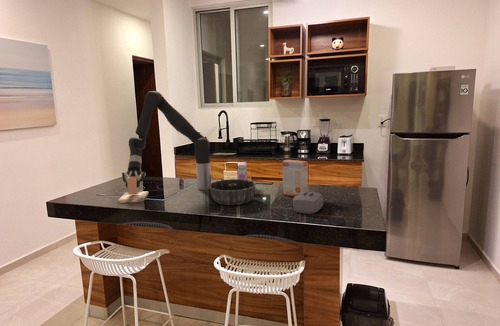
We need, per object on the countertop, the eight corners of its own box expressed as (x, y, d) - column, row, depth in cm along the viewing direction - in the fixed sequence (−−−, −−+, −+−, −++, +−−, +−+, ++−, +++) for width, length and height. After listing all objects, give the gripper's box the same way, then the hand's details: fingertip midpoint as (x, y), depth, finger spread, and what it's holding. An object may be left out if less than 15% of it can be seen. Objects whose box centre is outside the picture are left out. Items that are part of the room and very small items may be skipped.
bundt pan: (246, 210, 163) (246, 191, 161) (201, 206, 172) (200, 188, 170) (262, 196, 187) (262, 180, 186) (221, 193, 196) (221, 178, 195)
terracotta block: (138, 192, 194) (137, 176, 192) (137, 194, 189) (135, 177, 187) (130, 192, 193) (128, 176, 191) (128, 194, 188) (126, 178, 186)
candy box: (246, 190, 202) (246, 165, 199) (237, 190, 202) (236, 165, 200) (247, 185, 216) (246, 161, 213) (238, 185, 216) (238, 161, 213)
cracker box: (308, 196, 185) (308, 161, 181) (302, 198, 181) (302, 162, 177) (288, 192, 194) (288, 159, 191) (282, 194, 190) (282, 160, 187)
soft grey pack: (318, 215, 152) (327, 204, 170) (318, 199, 151) (328, 189, 169) (288, 212, 159) (300, 201, 177) (288, 195, 158) (300, 186, 175)
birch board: (148, 193, 201) (148, 191, 201) (143, 201, 183) (143, 198, 183) (125, 194, 199) (125, 192, 199) (118, 203, 181) (117, 200, 181)
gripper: (121, 161, 194) (118, 184, 184) (145, 159, 196) (143, 183, 186) (124, 168, 200) (121, 191, 190) (148, 166, 202) (146, 189, 192)
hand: (132, 187), depth 188 cm, fingers closed on terracotta block, 5 cm apart
